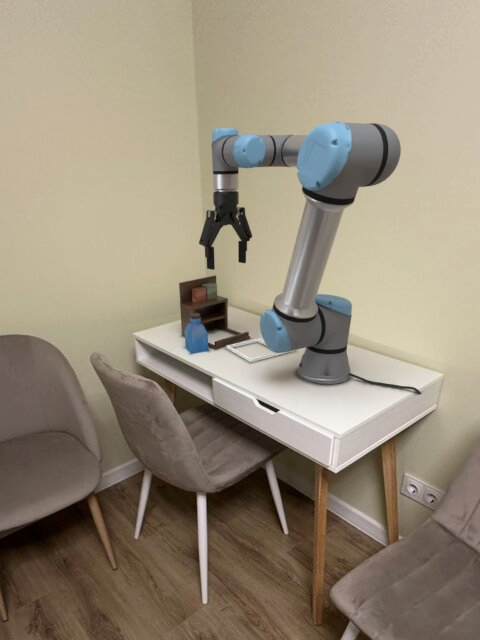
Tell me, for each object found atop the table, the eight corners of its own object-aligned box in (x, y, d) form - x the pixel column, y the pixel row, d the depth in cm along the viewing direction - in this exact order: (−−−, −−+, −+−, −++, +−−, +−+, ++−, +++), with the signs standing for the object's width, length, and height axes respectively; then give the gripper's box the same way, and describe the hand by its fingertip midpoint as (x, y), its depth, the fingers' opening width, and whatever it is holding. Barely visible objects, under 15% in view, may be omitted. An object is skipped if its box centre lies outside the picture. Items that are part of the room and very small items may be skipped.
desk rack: (249, 338, 169) (250, 284, 159) (215, 349, 160) (214, 293, 150) (215, 325, 181) (214, 275, 172) (181, 335, 172) (178, 282, 163)
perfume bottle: (185, 347, 162) (183, 313, 156) (202, 345, 164) (201, 310, 158) (190, 353, 157) (189, 318, 151) (208, 351, 159) (207, 316, 153)
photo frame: (295, 347, 157) (250, 358, 149) (294, 350, 158) (250, 362, 150) (269, 335, 168) (226, 345, 160) (269, 338, 168) (226, 348, 161)
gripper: (246, 188, 148) (246, 258, 159) (184, 192, 134) (188, 270, 144) (264, 188, 143) (262, 261, 154) (201, 193, 129) (204, 273, 140)
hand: (226, 265), depth 149 cm, fingers open, 13 cm apart
